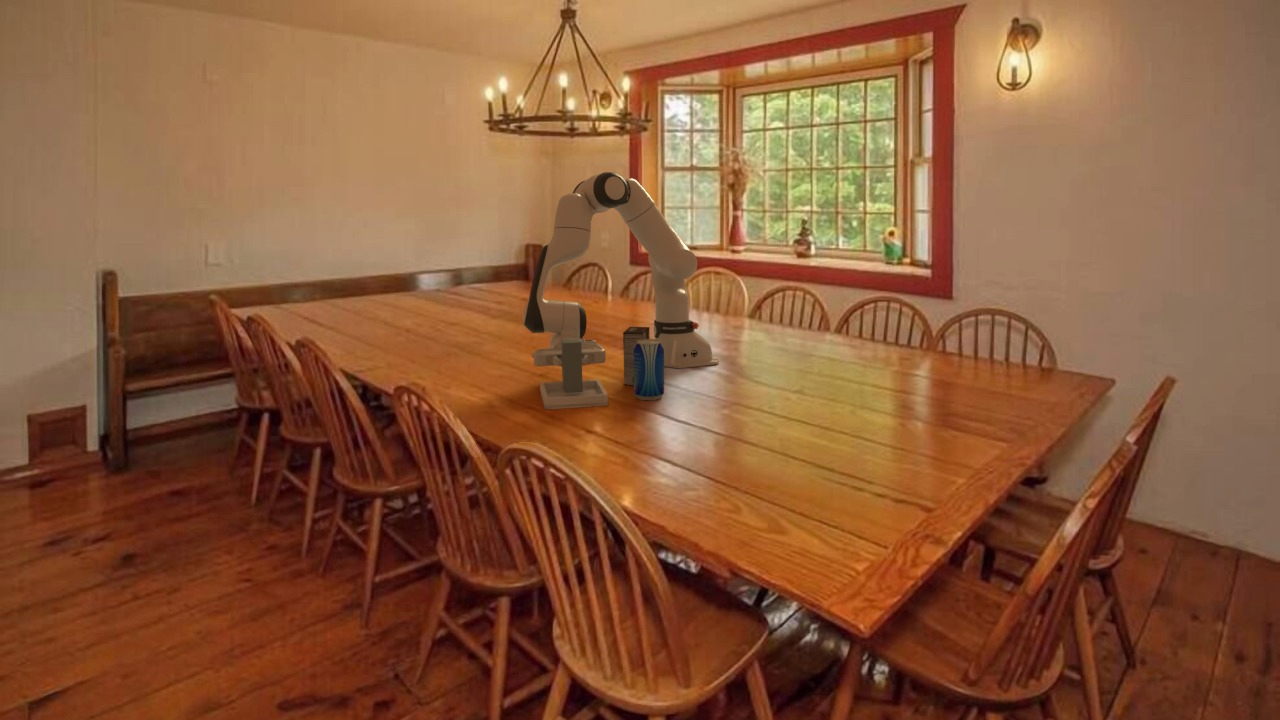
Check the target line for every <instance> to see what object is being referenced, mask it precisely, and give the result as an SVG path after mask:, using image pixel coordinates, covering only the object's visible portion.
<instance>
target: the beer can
mask: <svg viewBox="0 0 1280 720" xmlns="http://www.w3.org/2000/svg"><path fill="white" fill-rule="evenodd" d="M633 394H634V395H635V396H636V397H635V398H636V399H638V400H640V401H644V400H653V401H658V400H661V399H662V398H663V395H664V394H665V366H664V348H663V347H662V345H661V341H660V340H655V338H654V339H653V338H652V339H651V338H650V339H643V340H638V341H637V345H636V346H635V348H634V385H633ZM660 398H661V399H660ZM657 399H658V400H657Z"/></svg>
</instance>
